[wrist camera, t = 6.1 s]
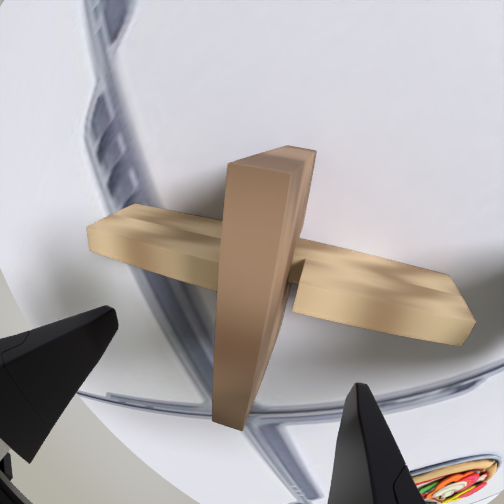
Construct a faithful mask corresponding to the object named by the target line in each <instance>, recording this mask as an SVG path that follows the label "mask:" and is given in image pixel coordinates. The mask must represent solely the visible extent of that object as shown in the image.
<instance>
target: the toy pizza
mask: <svg viewBox="0 0 504 504" xmlns="http://www.w3.org/2000/svg"><path fill="white" fill-rule="evenodd" d="M501 463H502V459H501V457H499V456H495V455H477V456H471V457H466V458H461V459H457V460H453V461H449V462H445V463H441V464H438V465H434V466H430V467H427V468H423V469H420V470H416V471H413V472H410V474H411V476H412V478H413V480H414V482H415V484H416V486H417V488H418V490H419V491H420V493H421V495H422V497H423V498H424V500H425V502H426V503H427V504H443V503H448V502H453V501H456V500H459V499H461V498H463V497H467V496H469V495H471V494H473V493H475V492H477V491H478V490H480V489H481V488H483V487H484V486H485V485H486V484H487V481H488V480H489V479H490V478H491V477H492V476H493V475H494V474H495V472H496V471H497V470H498V469H499V467H500V466H501Z"/></svg>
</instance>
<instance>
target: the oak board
mask: <svg viewBox="0 0 504 504" xmlns="http://www.w3.org/2000/svg"><path fill="white" fill-rule="evenodd" d="M221 234H222V221H220V220H215V219H210V218H205V217H200V216H196V215H191V214H186V213H181V212H176V211H171V210H166V209H161V208H155V207H150V206H145V205H140V204H133V205H131V206H129V207H126V208H124V209H122V210H120V211H118V212H116V213H114V214H112V215H109V216H107V217H105V218H103V219H101V220H99V221H97V222H95V223H93V224H91V225H89V226H87V236H88V243H89V250H90V251H92V252H94V253H97V254H100V255H103V256H106V257H109V258H112V259H115V260H118V261H121V262H124V263H127V264H130V265H133V266H136V267H139V268H142V269H145V270H148V271H151V272H154V273H157V274H161V275H164V276H167V277H170V278H173V279H177V280H180V281H183V282H187V283H190V284H193V285H197V286H200V287H203V288H207V289H210V290H214V291H217V290H218V274H219V260H220V246H221ZM288 282H291V283H295V284H299V286H298V290H297V294H296V298H295V302H294V306H293V310H292V312H296V313H300V314H304V315H308V316H312V317H317V318H321V319H325V320H329V321H334V322H338V323H342V324H347V325H351V326H356V327H361V328H365V329H370V330H375V331H380V332H385V333H390V334H395V335H400V336H405V337H410V338H415V339H421V340H426V341H432V342H438V343H444V344H450V345H456V346H462V345H463V344H464V342H465V340H466V339H467V337H468V336H469V334H470V332H471V331H472V329H473V327H474V326H475V324H476V321H475V319H474V317H473V315H472V314H471V312H470V310H469V308H468V306H467V304H466V303H465V301H464V299H463V297H462V295H461V294H460V292H459V290H458V289H457V287H456V285H455V284H454V282H453V280H452V279H451V277H450V275H446V274H442V273H439V272H435V271H431V270H427V269H424V268H420V267H416V266H412V265H408V264H404V263H400V262H396V261H392V260H389V259H385V258H381V257H377V256H373V255H368V254H364V253H360V252H356V251H352V250H348V249H344V248H340V247H336V246H331V245H327V244H323V243H319V242H314V241H310V240H306V239H301V238H298V241H297V243H296V246H295V250H294V255H293V260H292V265H291V270H290V274H289V279H288Z"/></svg>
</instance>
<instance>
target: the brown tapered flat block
mask: <svg viewBox="0 0 504 504" xmlns="http://www.w3.org/2000/svg"><path fill="white" fill-rule="evenodd" d="M315 157H316V151H315V150H310V149H305V148H299V147H294V146H284V147H280V148H277V149H273V150H270V151H266V152H263V153H259V154H256V155H253V156H250V157H246V158H243V159H240V160H237V161H234V162H231V163H228V166H227V177H226V187H225V198H224V209H223V221H222V234H221V246H220V260H219V274H218V290H217V306H216V325H215V345H214V368H213V398H212V421H213V422H216V423H219V424H222V425H225V426H228V427H231V428H234V429H237V430H240V431H243V428H244V426H245V423H246V421H247V418H248V416H249V413H250V410H251V408H252V405H253V403H254V400H255V397H256V395H257V392H258V389H259V387H260V384H261V381H262V379H263V376H264V373H265V370H266V368H267V365H268V362H269V359H270V356H271V354H272V351H273V348H274V345H275V342H276V339H277V336H278V333H279V330H280V327H281V324H282V320H283V316H284V312H285V307H286V303H287V299H288V294H289V290H290V285H291V282H288V279H289V274H290V270H291V265H292V260H293V255H294V250H295V246H296V243H297V241H298V238H299V235H300V233H301V230H302V228H303V223H304V218H305V213H306V207H307V202H308V197H309V191H310V186H311V180H312V174H313V169H314V163H315Z"/></svg>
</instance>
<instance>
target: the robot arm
mask: <svg viewBox="0 0 504 504" xmlns="http://www.w3.org/2000/svg"><path fill="white" fill-rule="evenodd" d="M118 325H119V324H118V319H117V315H116V311H115V309H114V308H112V307H110V306H107V305H105V306H102V307H99V308H96V309H93V310H90V311H87V312H84V313H81V314H78V315H75V316H72V317H69V318H66V319H63V320H60V321H57V322H54V323H51V324H48V325H45V326H42V327H38V328H35V329H32V330H31V331H26V332H23V333H20V334H17V335H13V336H9V337H6V338H1V339H0V504H32V503H31V502H30V501H29V500H28V499H27V498H26V497H25V496H24V495H23V494H22V493H21V492H20V491H19V490H18V489H17V488H16V487H15V486H14V485H13V484H12V483H11V482H10V481H11V479H12V478H13V476H12V467H11V457H10V454H9V453H8V451H9V450H10V449H12V450H14V451H15V452H16V453H17V454H18V455H19V456H21V457H22V458H23V459H24V460H26V461H27V462H28V463H29V464H30V463H31V462H32V460H33V458H34V457H35V455H36V453H37V452H38V450H39V449H40V447H41V445H42V444H43V442H44V441H45V439H46V437H47V436H48V434H49V433H50V431H51V429H52V428H53V426H54V425H55V423H56V422H57V420H58V419H59V417H60V416H61V414H62V413H63V411H64V409H65V408H66V407H67V405H68V404H69V402H70V401H71V399H72V398H73V397H74V395H75V394H76V392H77V391H78V389H79V388H80V387H81V385H82V384H83V382H84V381H85V379H86V378H87V377H88V375H89V374H90V372H91V371H92V370H93V368H94V367H95V366H96V364H97V363H98V361H99V360H100V358H101V357H102V355H103V354H104V352H105V350H106V348H107V347H108V345H109V343H110V342H111V340H112V338H113V337H114V335H115V333H116V332H117V330H118ZM405 464H406V463H405V461H404V459H403V457H402V454H401V452H400V450H399V448H398V446H397V444H396V442H395V439H394V437H393V435H392V433H391V431H390V429H389V427H388V425H387V423H386V421H385V419H384V417H383V415H382V413H381V410H380V408H379V406H378V404H377V402H376V400H375V398H374V396H373V394H372V392H371V390H370V389H369V387H368V385H367V384H363V383H355V384H354V385H353V387H352V389H351V390H350V392H349V394H348V395H347V397H346V400H345V404H344V409H343V414H342V419H341V423H340V428H339V432H338V437H337V442H336V450H335V459H334V466H333V473H332V480H331V487H330V493H329V499H328V504H427V503H426V502H425V500H424V498H423V497H422V495H421V493H420V491H419V490H418V488H417V486H416V484H415V482H414V480H413V478H412V476H411V474H410V472H409V469H408V467H407V465H405Z"/></svg>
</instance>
